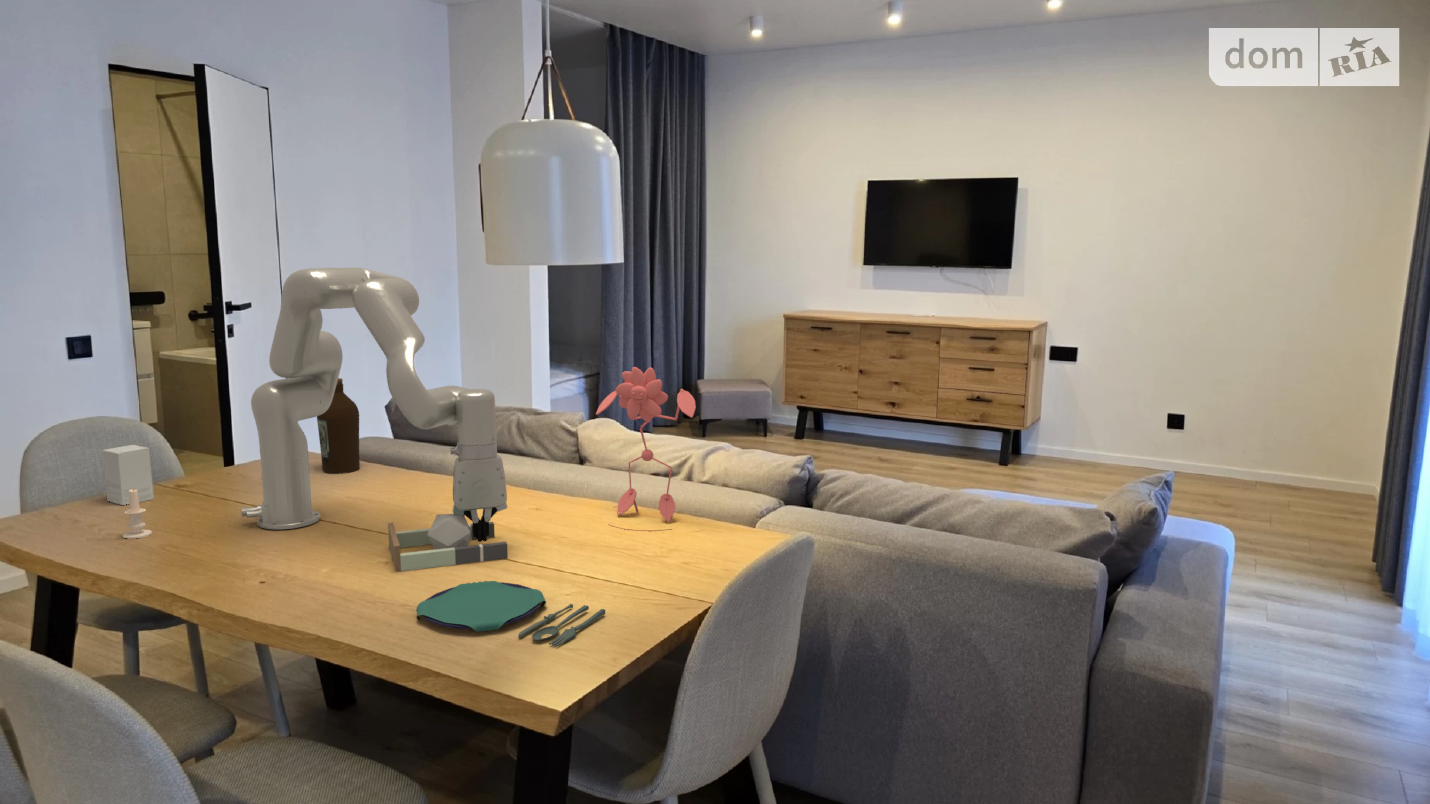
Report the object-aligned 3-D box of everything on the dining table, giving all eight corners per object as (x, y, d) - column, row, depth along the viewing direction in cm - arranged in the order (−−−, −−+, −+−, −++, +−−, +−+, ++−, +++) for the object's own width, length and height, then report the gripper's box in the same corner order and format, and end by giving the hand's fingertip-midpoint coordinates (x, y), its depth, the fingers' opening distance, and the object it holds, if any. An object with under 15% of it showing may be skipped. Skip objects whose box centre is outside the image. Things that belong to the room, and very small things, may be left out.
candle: (155, 535, 195) (150, 487, 193) (127, 541, 191) (122, 492, 189) (147, 530, 198) (143, 483, 197) (119, 535, 195) (114, 487, 193)
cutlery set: (475, 585, 170) (475, 573, 169) (615, 614, 157) (615, 601, 156) (394, 623, 152) (393, 610, 152) (543, 660, 139) (543, 646, 139)
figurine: (608, 506, 220) (607, 360, 215) (705, 520, 209) (707, 367, 204) (571, 523, 207) (569, 367, 201) (674, 539, 196) (674, 375, 190)
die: (454, 565, 180) (480, 522, 183) (414, 544, 180) (441, 500, 182) (458, 567, 188) (483, 525, 191) (420, 546, 188) (446, 504, 190)
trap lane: (395, 571, 175) (394, 546, 174) (388, 546, 189) (387, 523, 188) (507, 558, 183) (507, 533, 182) (493, 535, 197) (492, 512, 197)
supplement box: (155, 499, 223) (150, 447, 220) (122, 506, 216) (116, 453, 214) (139, 494, 226) (134, 443, 224) (106, 501, 220) (101, 449, 218)
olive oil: (356, 463, 261) (351, 375, 257) (366, 471, 252) (361, 379, 248) (316, 468, 255) (310, 378, 251) (325, 476, 246) (319, 382, 242)
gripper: (441, 458, 179) (446, 550, 182) (519, 451, 185) (522, 540, 188) (436, 450, 186) (440, 539, 189) (511, 444, 192) (514, 530, 195)
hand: (481, 539), depth 188 cm, fingers closed
